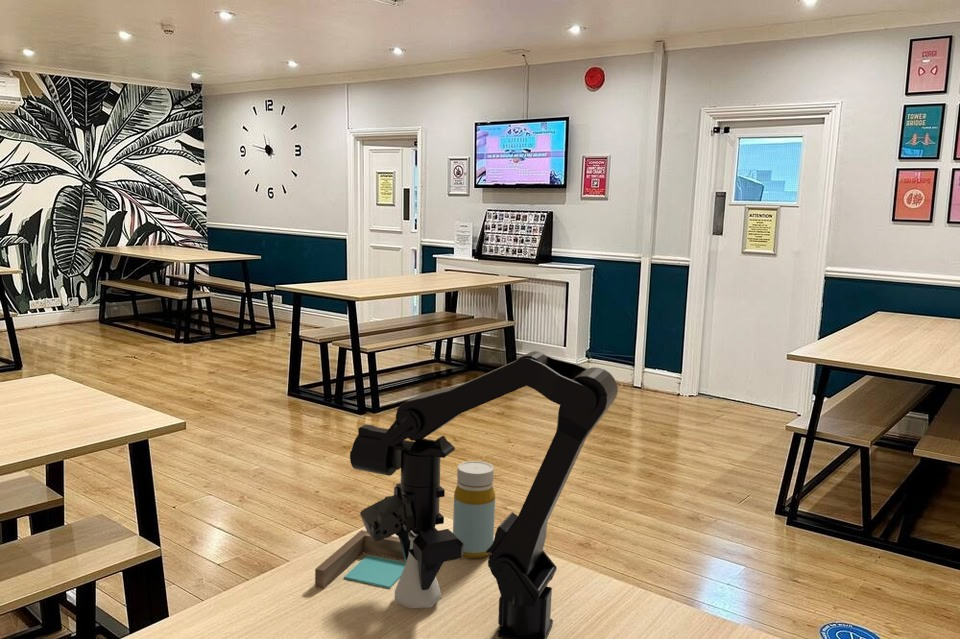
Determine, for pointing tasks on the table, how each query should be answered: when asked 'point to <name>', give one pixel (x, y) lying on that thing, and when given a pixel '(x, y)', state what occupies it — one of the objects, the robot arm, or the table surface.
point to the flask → (415, 585)
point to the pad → (377, 571)
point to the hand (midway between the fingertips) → (418, 580)
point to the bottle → (474, 508)
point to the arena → (355, 556)
